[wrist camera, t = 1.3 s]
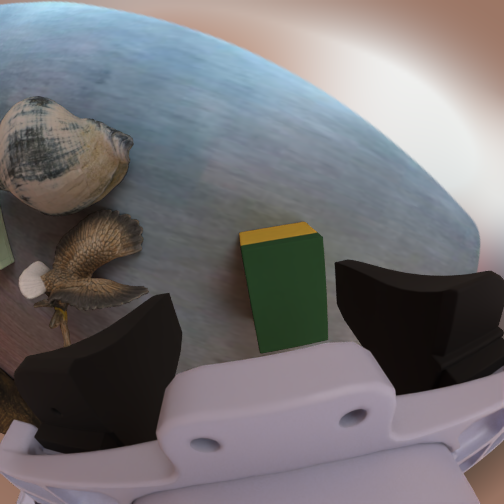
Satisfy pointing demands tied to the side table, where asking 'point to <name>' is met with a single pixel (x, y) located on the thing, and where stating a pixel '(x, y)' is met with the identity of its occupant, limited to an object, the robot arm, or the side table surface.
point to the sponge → (286, 285)
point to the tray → (4, 246)
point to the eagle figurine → (85, 268)
